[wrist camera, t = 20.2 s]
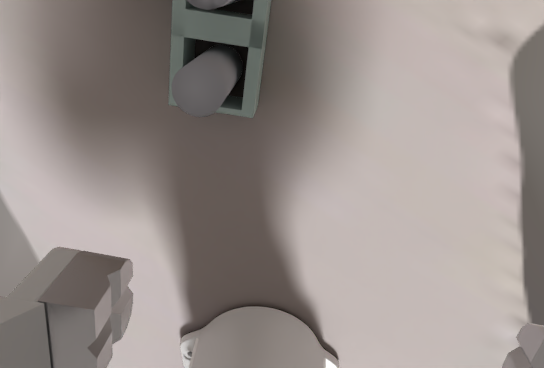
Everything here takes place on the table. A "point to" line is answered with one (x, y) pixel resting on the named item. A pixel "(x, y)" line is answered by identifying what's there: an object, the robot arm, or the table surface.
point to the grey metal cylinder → (210, 3)
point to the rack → (216, 58)
